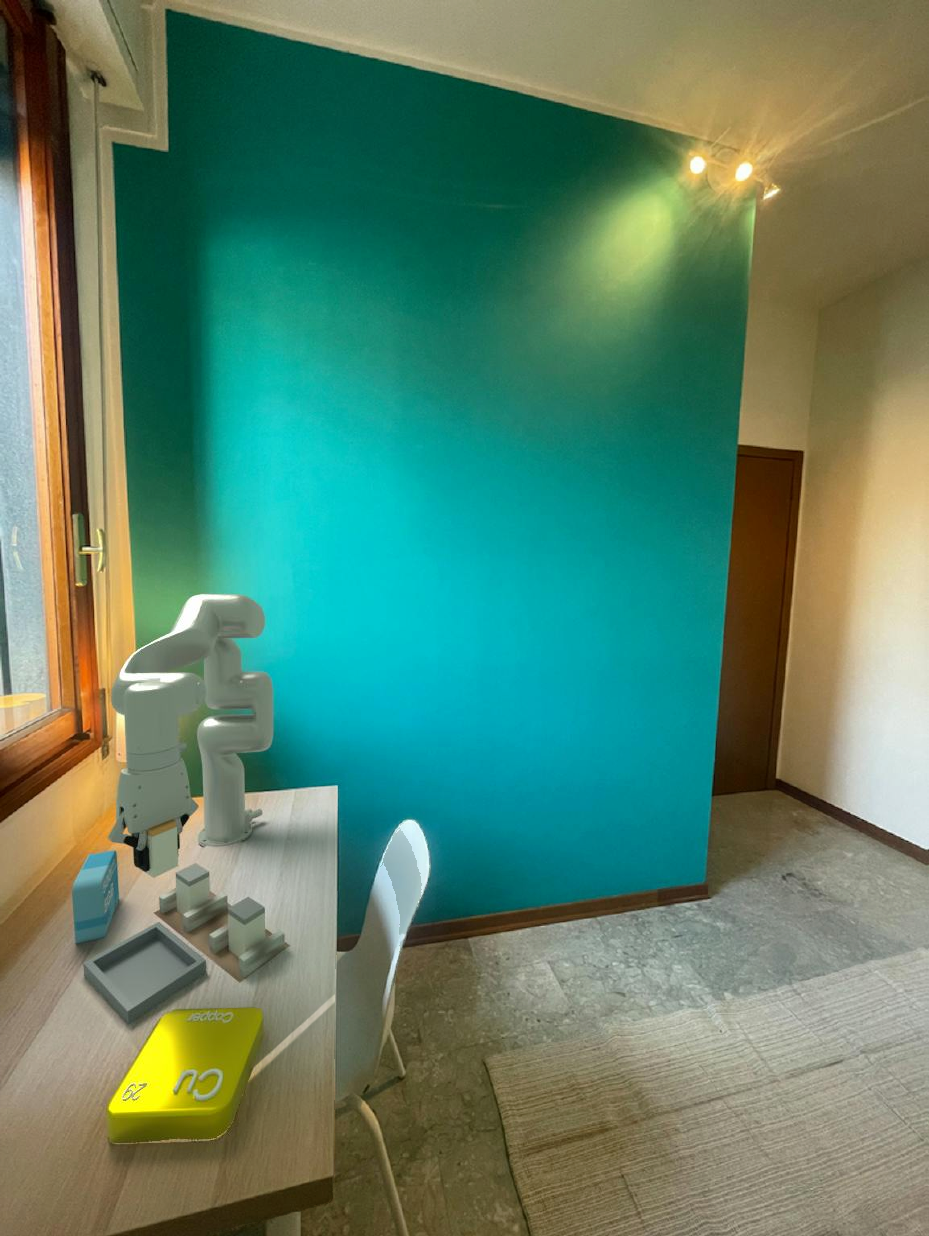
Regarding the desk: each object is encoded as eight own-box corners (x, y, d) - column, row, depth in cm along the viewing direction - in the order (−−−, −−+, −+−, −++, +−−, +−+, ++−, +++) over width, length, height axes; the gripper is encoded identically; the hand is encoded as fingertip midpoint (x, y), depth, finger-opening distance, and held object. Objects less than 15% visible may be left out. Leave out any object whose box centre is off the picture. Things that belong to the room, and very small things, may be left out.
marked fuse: (162, 856, 88) (161, 813, 88) (178, 866, 86) (176, 821, 85) (138, 867, 85) (136, 822, 84) (153, 878, 82) (151, 831, 82)
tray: (159, 936, 95) (158, 921, 94) (206, 976, 86) (206, 960, 86) (84, 979, 85) (83, 963, 84) (128, 1029, 76) (127, 1011, 76)
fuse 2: (249, 936, 94) (248, 896, 93) (265, 948, 91) (264, 907, 90) (229, 950, 91) (227, 908, 90) (245, 962, 88) (244, 920, 87)
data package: (105, 942, 93) (101, 881, 92) (75, 949, 91) (71, 886, 90) (119, 901, 104) (116, 846, 103) (93, 907, 102) (89, 851, 101)
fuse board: (203, 890, 108) (202, 873, 108) (290, 949, 92) (289, 930, 92) (153, 916, 100) (153, 898, 99) (239, 986, 84) (239, 965, 84)
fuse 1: (196, 899, 104) (195, 863, 103) (210, 909, 101) (209, 871, 100) (177, 910, 101) (175, 872, 100) (190, 920, 98) (189, 882, 97)
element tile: (267, 1031, 77) (267, 1002, 76) (226, 1144, 62) (225, 1109, 61) (166, 1033, 76) (164, 1005, 75) (99, 1149, 61) (97, 1114, 60)
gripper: (191, 738, 92) (194, 834, 94) (84, 768, 78) (90, 879, 80) (214, 747, 88) (217, 846, 90) (106, 779, 74) (112, 896, 76)
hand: (157, 860), depth 85 cm, fingers closed on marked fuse, 4 cm apart
